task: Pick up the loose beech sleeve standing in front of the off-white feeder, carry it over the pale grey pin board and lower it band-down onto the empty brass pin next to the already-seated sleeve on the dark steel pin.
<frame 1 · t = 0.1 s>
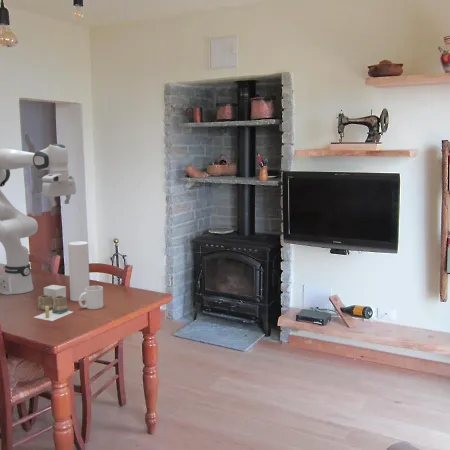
hand: (60, 204, 258), 48 cm above the table, fingers open, 8 cm apart
mug: (90, 310, 247), on the table
sleeve: (45, 310, 244), on the table
feeder: (55, 304, 253), on the table
pin board: (54, 317, 236), on the table
cylinder container: (80, 300, 261), on the table
sleeve seated: (60, 311, 239), point 1 cm above the table, touching pin board
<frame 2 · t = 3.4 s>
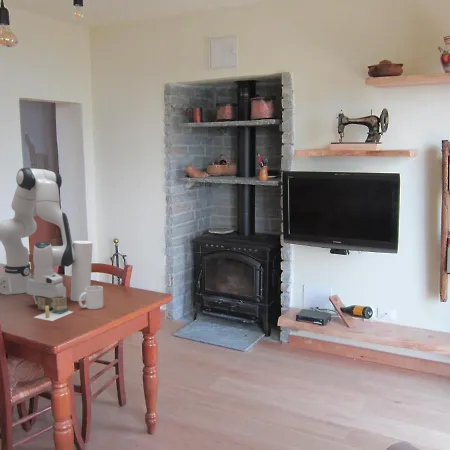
hand: (45, 305, 244), 3 cm above the table, fingers open, 8 cm apart
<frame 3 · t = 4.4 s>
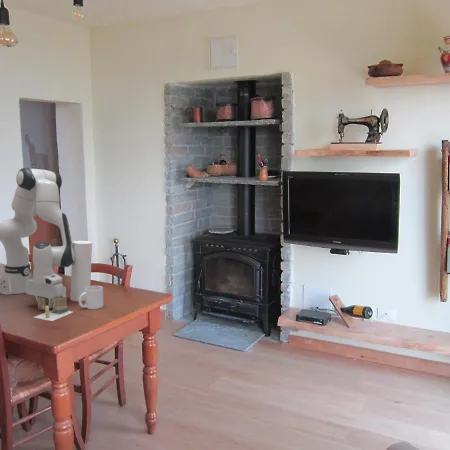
hand: (44, 305, 244), 2 cm above the table, fingers closed on sleeve, 4 cm apart
sleeve: (45, 310, 244), on the table, touching gripper
cylinder container: (80, 300, 261), on the table, touching arm
everything else where it was.
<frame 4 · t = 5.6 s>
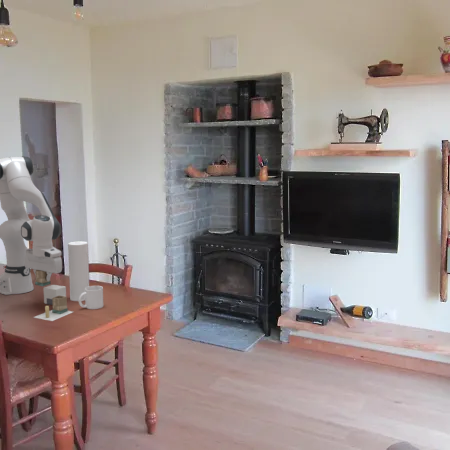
hand: (42, 279, 242), 15 cm above the table, fingers closed on sleeve, 4 cm apart
sleeve: (42, 284, 243), point 13 cm above the table, touching gripper
cylinder container: (80, 300, 261), on the table
everything else where it was.
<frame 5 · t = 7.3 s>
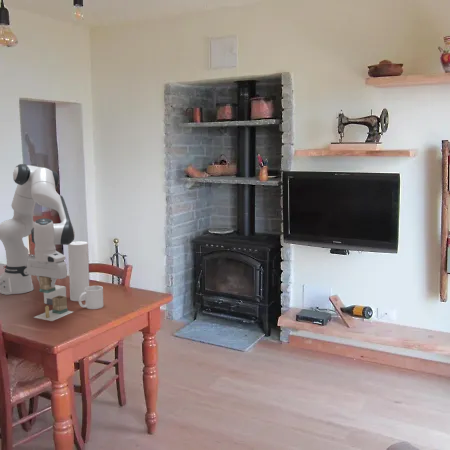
hand: (47, 286, 230), 15 cm above the table, fingers closed on sleeve, 4 cm apart
sleeve: (47, 291, 230), point 13 cm above the table, touching gripper
everything else where it was.
when the fingers open (5 cm above the table, at t = 10.1 s): sleeve drops 1 cm, resting on pin board.
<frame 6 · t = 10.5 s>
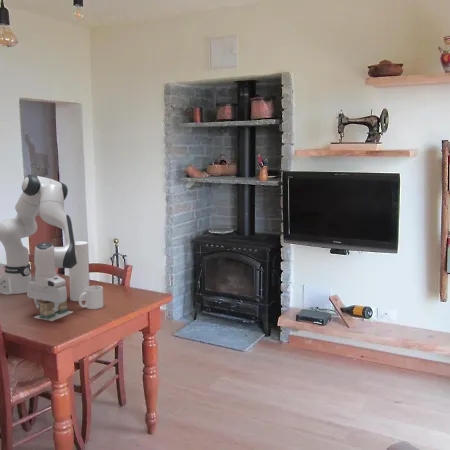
hand: (47, 309, 232), 5 cm above the table, fingers open, 8 cm apart
sleeve: (47, 317, 232), point 1 cm above the table, touching pin board
everything else where it was.
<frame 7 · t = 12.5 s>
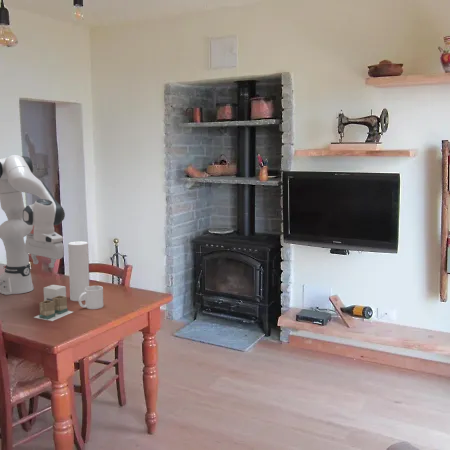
hand: (43, 265, 235), 23 cm above the table, fingers open, 8 cm apart
nothing on the table moved.
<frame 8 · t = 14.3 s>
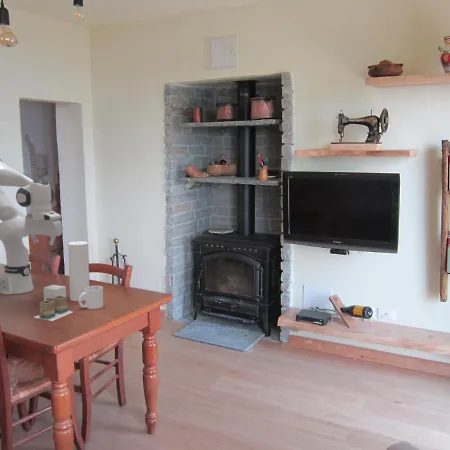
hand: (43, 244, 244), 31 cm above the table, fingers open, 8 cm apart
nothing on the table moved.
at the end: sleeve 0.0 cm from the target spot on the pin board, point 1.2 cm above the pin board's base; sleeve tilted 0°; the gripper is holding nothing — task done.
